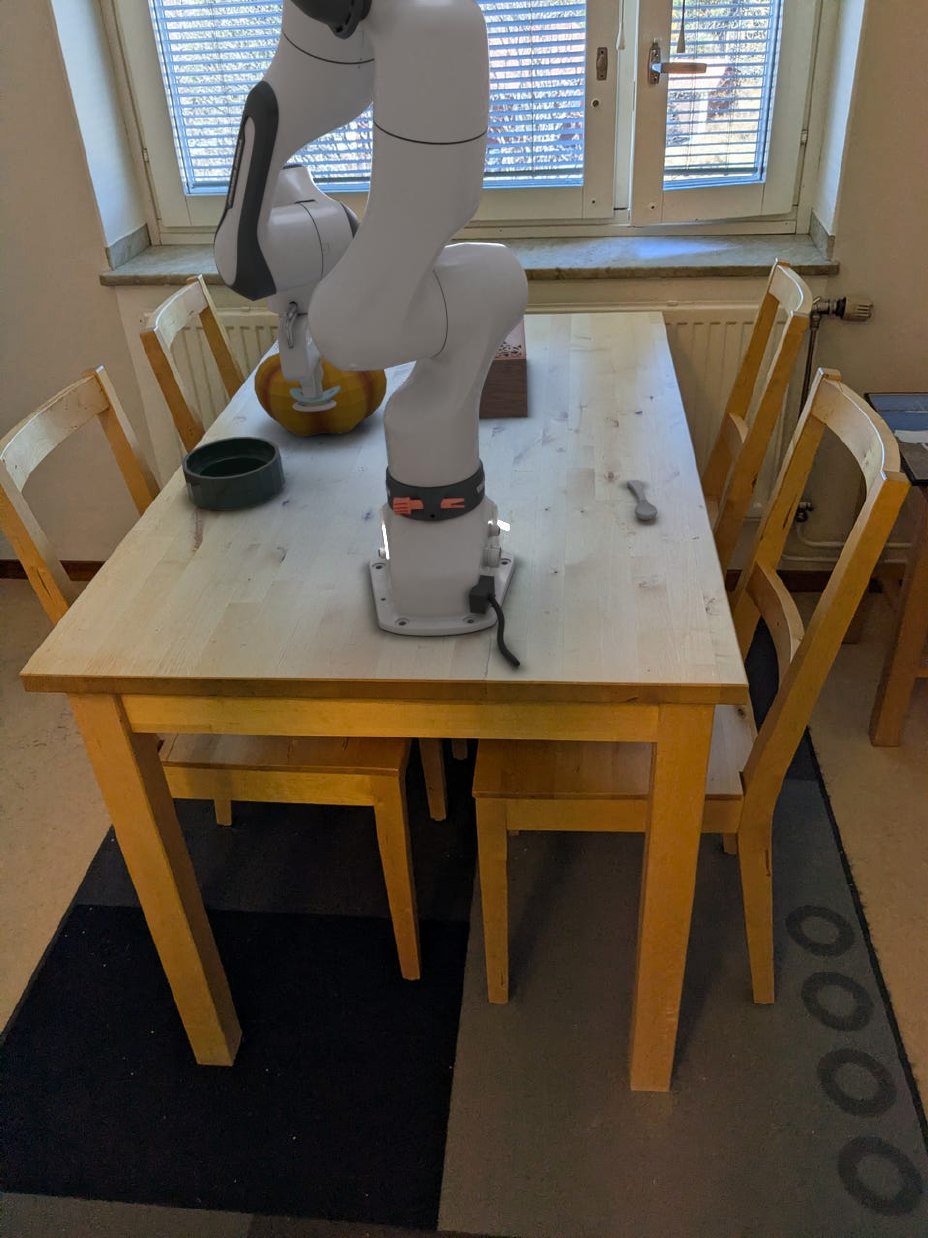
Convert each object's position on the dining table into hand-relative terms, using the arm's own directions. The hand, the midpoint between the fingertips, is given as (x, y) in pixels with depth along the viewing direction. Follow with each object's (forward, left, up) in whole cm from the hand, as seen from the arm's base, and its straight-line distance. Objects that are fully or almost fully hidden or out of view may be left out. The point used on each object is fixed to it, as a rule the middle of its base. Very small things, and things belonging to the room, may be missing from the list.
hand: (313, 389), depth 142 cm
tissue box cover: (+32, -24, -14) cm, 43 cm away
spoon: (-12, -46, -14) cm, 50 cm away
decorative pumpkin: (+20, +3, -14) cm, 25 cm away
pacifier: (-1, 0, -2) cm, 3 cm away
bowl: (-4, +13, -14) cm, 19 cm away
